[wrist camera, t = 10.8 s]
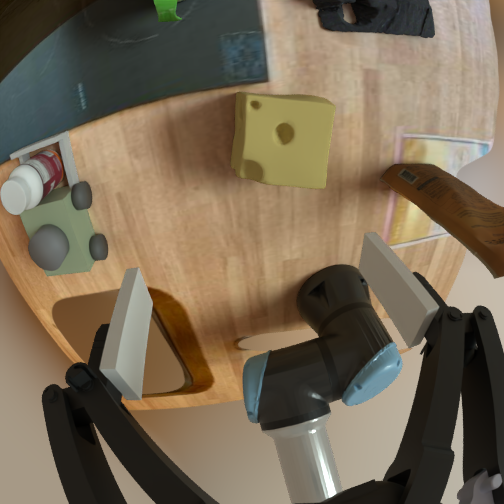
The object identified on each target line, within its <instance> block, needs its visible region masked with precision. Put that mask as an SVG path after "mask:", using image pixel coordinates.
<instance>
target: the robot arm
mask: <svg viewBox="0 0 504 504" xmlns="http://www.w3.org/2000/svg"><path fill="white" fill-rule="evenodd" d="M367 283H368V284H367ZM368 285H369V286H370V288H371V289H372V291H373V292H374V294H375V295H376V297H377V298H378V300H379V301H380V303H381V304H382V306H383V307H384V309H385V310H386V312H387V313H388V315H389V317H390V318H391V319H392V321H393V323H394V325H395V326H396V328H397V329H398V331H399V333H400V334H401V336H402V338H403V339H404V341H405V342H406V344H407V346H408V348H411V347H414V346H416V345H419V344H420V343H421V341H422V340H423V338H424V337H425V338H426V340H427V342H426V344H425V346H424V347H423V349H422V351H421V353H420V354H421V355H422V353H423V352H424V355H423V361H422V366H421V371H420V376H419V381H418V385H417V389H416V394H415V398H414V402H413V405H412V409H411V413H410V416H409V419H408V423H407V426H406V430H405V432H404V436H403V438H402V442H401V444H400V447H399V450H398V453H397V455H396V458H395V460H394V462H393V463H392V464H391V466H390V467H389V469H388V470H387V472H386V474H385V477H384V479H383V481H375V480H371V481H369V482H366V483H363V484H361V485H358V486H355V487H352V488H350V489H347V490H345V491H343V490H342V487H341V483H340V479H339V475H338V471H337V468H336V464H335V460H334V456H333V452H332V449H331V445H330V441H329V438H328V435H327V430H326V427H325V424H326V422H327V420H328V418H329V417H330V415H331V410H330V407H329V403H331V402H333V401H336V400H339V399H342V402H343V403H345V404H346V405H347V406H353V405H358V404H360V403H363V402H365V401H367V400H369V399H371V398H373V397H374V396H376V395H377V394H379V393H380V392H381V391H383V390H384V389H385V388H387V387H388V386H389V385H390V384H391V383H392V382H393V381H394V380H395V379H396V377H397V376H398V374H399V373H400V371H401V369H402V359H401V356H400V354H399V352H398V350H397V348H396V344H395V342H393V340H392V338H391V337H390V335H389V333H388V332H387V330H386V328H385V326H384V325H383V323H382V321H381V320H380V318H379V317H378V315H377V313H376V312H375V310H374V308H373V307H372V304H371V299H370V294H369V288H368ZM152 306H153V302H152V299H151V297H150V295H149V292H148V290H147V287H146V285H145V282H144V280H143V277H142V275H141V272H140V269H139V267H138V268H131V269H126V272H125V275H124V279H123V282H122V285H121V288H120V291H119V294H118V298H117V301H116V305H115V308H114V312H113V315H112V319H111V322H110V324H102V325H101V326H100V328H99V329H98V331H97V332H96V335H95V339H94V342H93V346H92V350H91V354H90V358H89V362H88V365H87V364H86V363H82V362H79V363H75V364H73V365H72V366H71V367H70V368H69V369H68V370H67V372H66V376H65V379H66V383H67V384H68V385H69V386H70V387H68V388H65V389H62V388H60V387H59V386H58V385H56V384H52V385H50V386H48V387H46V388H45V390H44V391H43V394H42V404H43V411H44V417H45V422H46V427H47V431H48V437H49V441H50V445H51V449H52V453H53V457H54V460H55V464H56V467H57V471H58V474H59V477H60V480H61V483H62V486H63V489H64V492H65V494H66V497H67V500H68V502H69V504H127V502H126V501H125V499H124V497H123V495H122V493H121V491H120V489H119V487H118V485H117V483H116V481H115V478H114V476H113V474H112V472H111V469H110V467H109V465H108V462H107V460H106V458H105V455H104V452H103V450H102V447H101V444H100V442H99V439H98V436H97V433H96V430H95V427H94V424H95V426H96V427H97V429H98V430H99V432H100V434H101V435H102V437H103V438H104V440H105V441H106V442H107V444H108V445H109V447H110V448H111V450H112V451H113V452H114V454H115V455H116V457H117V458H118V459H119V461H120V462H121V463H122V465H123V466H124V467H125V468H126V470H127V471H128V472H129V473H130V474H131V476H132V477H133V478H134V480H135V481H136V482H137V483H138V484H139V485H140V487H141V488H142V489H143V490H144V491H145V492H146V493H147V494H148V496H149V497H150V498H151V499H152V500H153V501H154V502H155V503H156V504H219V503H218V502H217V501H215V500H214V499H213V498H212V497H211V496H209V495H208V494H207V493H206V492H205V491H203V490H202V489H201V488H200V487H198V485H197V484H195V483H194V482H193V481H192V480H191V479H190V478H189V477H188V476H187V475H186V474H185V473H184V472H182V470H180V468H179V467H178V466H177V465H175V463H173V461H172V460H171V459H170V458H168V456H167V455H166V454H165V453H164V452H163V451H162V450H161V449H160V448H159V447H158V446H157V445H156V443H155V442H154V441H153V440H152V439H151V438H150V437H149V435H148V434H147V433H146V432H145V431H144V429H143V428H142V427H141V426H140V425H139V423H138V422H137V421H136V420H135V419H134V417H133V416H132V415H131V413H130V412H129V411H128V410H127V408H126V407H125V406H124V404H123V403H122V402H121V398H122V395H123V396H124V397H125V399H126V400H141V399H142V386H143V375H144V365H145V356H146V348H147V340H148V333H149V325H150V319H151V312H152ZM297 307H298V309H299V312H300V314H301V316H302V318H303V319H304V320H305V321H306V322H307V324H308V325H309V326H310V327H311V328H312V329H313V330H314V331H315V332H316V333H317V334H318V336H319V338H315V339H312V340H309V341H306V342H302V343H299V344H296V345H292V346H289V347H285V348H281V349H278V350H274V351H272V350H269V351H268V352H266V353H263V354H260V355H257V356H253V357H251V358H249V359H248V360H247V361H246V363H245V365H244V369H243V395H244V402H245V408H246V410H247V415H248V418H249V420H250V422H252V423H259V422H260V425H261V429H262V432H263V433H265V434H267V435H268V436H270V437H272V438H273V439H274V441H275V445H276V449H277V453H278V457H279V460H280V464H281V467H282V471H283V475H284V478H285V482H286V485H287V489H288V493H289V496H290V500H291V503H292V504H442V503H440V501H441V499H442V496H443V493H444V490H445V488H446V485H447V482H448V478H449V475H450V472H451V469H452V465H453V461H454V456H455V455H454V451H452V450H451V443H452V439H453V434H454V429H455V425H456V420H457V414H458V408H459V401H460V394H461V395H462V409H463V437H464V438H463V480H464V485H463V487H462V489H460V490H459V492H458V493H457V499H459V500H460V502H459V504H504V352H503V348H502V345H501V341H500V338H499V334H498V331H497V328H496V325H495V322H494V319H493V316H492V314H491V312H490V311H489V310H488V308H486V307H484V306H477V307H476V308H475V309H474V310H473V313H462V312H461V311H460V310H459V309H457V308H455V307H451V306H450V307H448V306H447V305H446V304H445V302H444V301H443V300H442V298H441V297H440V296H439V295H438V293H437V292H436V291H435V290H434V289H433V287H432V286H431V285H430V284H429V283H428V281H427V280H426V279H425V278H424V277H423V276H422V275H420V274H419V273H417V272H413V273H412V272H411V271H410V270H409V269H408V268H407V266H406V265H405V264H404V263H403V262H402V261H401V260H400V258H399V257H398V256H397V255H396V254H395V253H394V252H393V251H392V249H391V248H390V247H389V246H388V245H387V244H386V243H385V242H384V241H383V240H382V239H381V238H380V236H379V235H378V234H377V233H376V232H371V233H365V234H364V241H363V247H362V253H361V259H360V264H359V269H357V268H356V267H353V266H350V265H335V266H331V267H328V268H326V269H323V270H321V271H319V272H318V273H316V274H315V275H313V276H312V277H311V278H310V279H309V280H307V281H306V283H305V284H304V285H303V286H302V288H301V289H300V291H299V294H298V297H297ZM476 344H477V345H476ZM93 423H94V424H93Z"/></svg>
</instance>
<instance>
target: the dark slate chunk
mask: <svg viewBox="0 0 504 504" xmlns="http://www.w3.org/2000/svg"><path fill="white" fill-rule="evenodd" d="M313 3H314V4H315V5H317V7H316V9H319V16H320V17H321V21H322V23H323V27H325V28H327V29H329V30H331V31H336V30H338V31H342V32H347V31H351V32H353V31H356V32H373V33H374V32H375V33H376V32H379V33H382V32H384V33H386V34H389V33H390V34H395V35H403V34H405V35H413V36H421V37H424V38H428V37H430V38H433V36H434V35H435V29H434V21H433V15H432V8H431V6H430V4H429V1H428V0H313ZM346 3H351V6H352V9H353V11H354V14H355V16H356V19H357V22H356V23H355V24H350V23H348V22H346V21H345V20H344V19H343V18H344V14H343V9H342V5H343V4H346ZM322 10H323V11H322Z"/></svg>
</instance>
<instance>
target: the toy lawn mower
mask: <svg viewBox="0 0 504 504" xmlns="http://www.w3.org/2000/svg"><path fill="white" fill-rule="evenodd" d="M58 141H59V145H60V150H61V155H62V159H63V163H64V167H65V171H66V175H67V179H68V183H69V185H68V186H64V187H61V188H57V189H53V190H52V191H51V192H50V193H49V194H48V195H47V196H46V197H45V198H44V199H43V200H41V202H40V203H39V204H38V205H36V206H35V207H34V208H32V209H29V210H24V211H23V212H22V213H21V214H20V217H21V219H22V222H23V225H24V227H25V230H26V232H27V235H28V237H29V239H30V241H29V245H28V249H29V254H30V256H31V258H32V260H33V261H34V262H35V263H36V264H37V265H38V266H39V267H40V268H42V269H43V270H44V272H45V274H46V275H47V276H55V275H63V274H72V273H80V272H89V271H90V270H91V268H92V266H93V264H94V261H98V260H105V259H106V258H107V255H108V244H107V240H106V238H105V236H104V235H103V234H100V235H95V232H94V229H93V226H92V223H91V220H90V217H89V214H88V211H87V209H88V208H90V206H91V204H92V192H91V188H90V185H89V184H88V182H86V181H84V182H79V178H78V174H77V170H76V166H75V162H74V158H73V153H72V148H71V144H70V139H69V133H68V131H65V132H62V133H59V134H56V135H54V136H51V137H48V138H45V139H43V140H40V141H38V142H35V143H33V144H30V145H28V146H25V147H23V148H21V149H20V150H18V151H16V152H14V153H12V154H11V155H10V157H11V160H12V159H15V158H17V157H19V161H20V165H21V164H22V163H24V162H25V161H27V160H29V159H30V156H29V152H31V151H34V150H37V149H39V148H42V147H45V146H47V145H50V144H53V143H56V142H58Z"/></svg>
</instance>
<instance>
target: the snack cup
mask: <svg viewBox="0 0 504 504" xmlns="http://www.w3.org/2000/svg"><path fill="white" fill-rule="evenodd" d="M153 1H154V4H155V6H156V10H157V13H158V17H159V19H158V22H168V21H178V20H182V18H179V17H178V16H176V14H175V10H176V5H177V2H180V1H184V0H153Z"/></svg>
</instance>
